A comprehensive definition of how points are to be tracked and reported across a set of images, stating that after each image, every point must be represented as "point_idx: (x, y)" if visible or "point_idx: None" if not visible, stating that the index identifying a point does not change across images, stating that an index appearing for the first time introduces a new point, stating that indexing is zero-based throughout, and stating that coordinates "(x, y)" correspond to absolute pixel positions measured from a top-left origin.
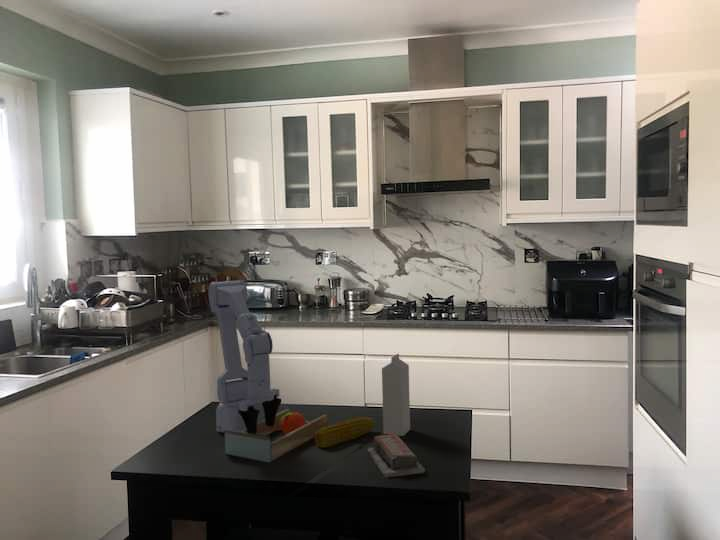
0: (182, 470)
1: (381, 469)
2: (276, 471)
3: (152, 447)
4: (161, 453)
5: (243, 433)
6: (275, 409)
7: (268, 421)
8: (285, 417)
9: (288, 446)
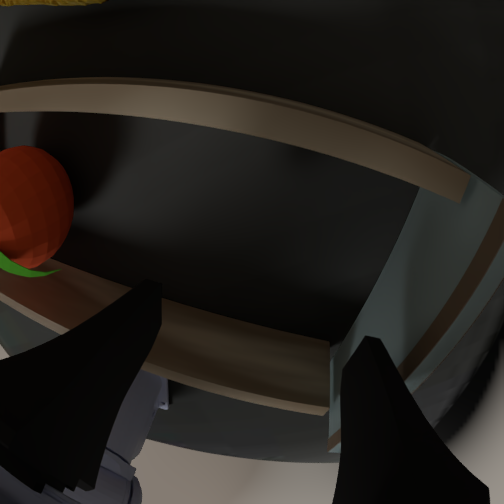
0: (433, 398)
1: None
2: (489, 100)
3: (284, 461)
4: (317, 450)
5: (411, 393)
6: (68, 371)
7: (147, 334)
8: (14, 257)
9: (256, 95)
